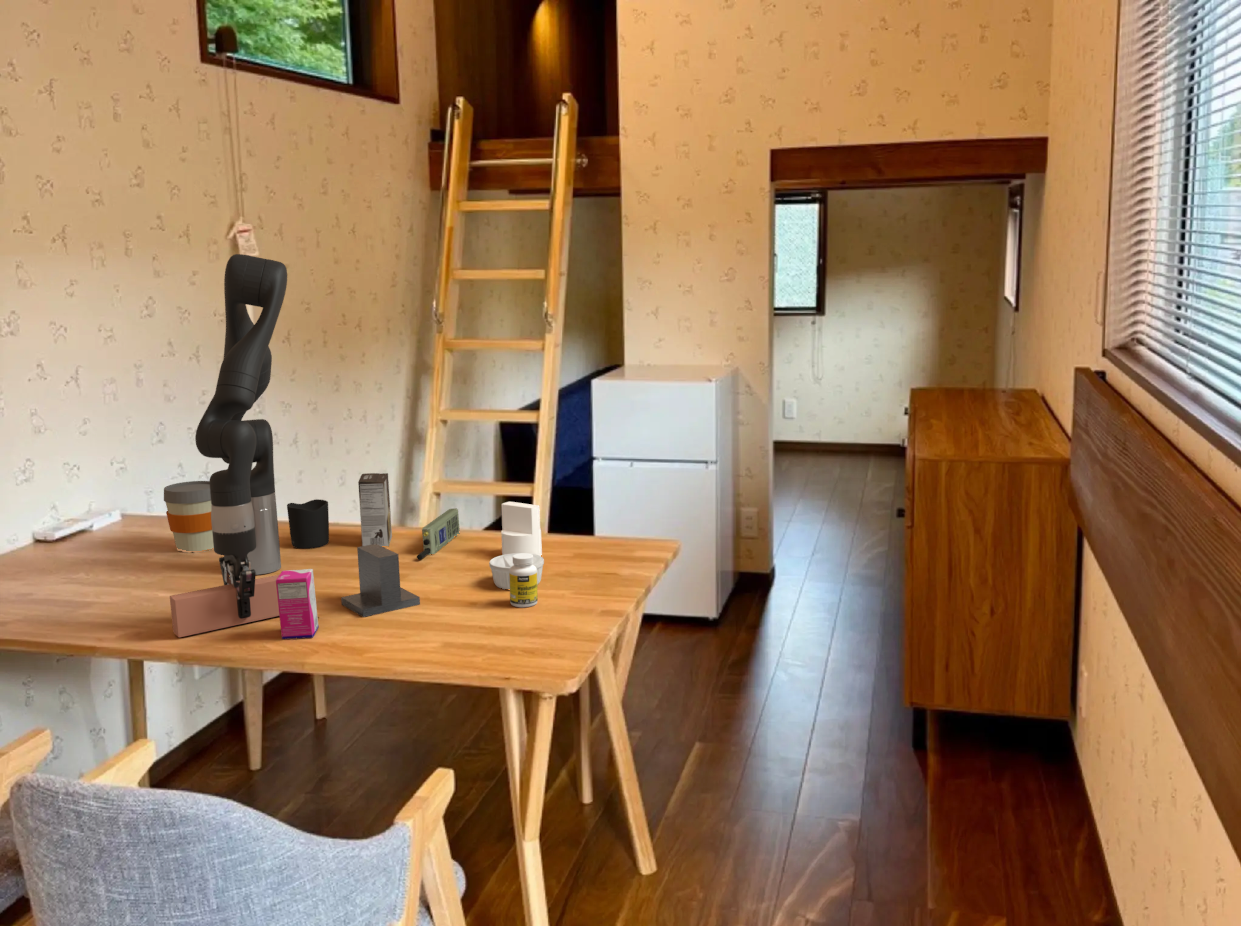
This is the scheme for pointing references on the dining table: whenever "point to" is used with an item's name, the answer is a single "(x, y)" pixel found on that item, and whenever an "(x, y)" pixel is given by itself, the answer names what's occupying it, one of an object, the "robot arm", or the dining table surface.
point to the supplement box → (297, 604)
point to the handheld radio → (439, 532)
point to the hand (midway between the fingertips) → (241, 614)
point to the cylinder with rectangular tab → (521, 528)
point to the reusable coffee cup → (190, 514)
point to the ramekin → (503, 565)
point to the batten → (221, 607)
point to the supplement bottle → (523, 581)
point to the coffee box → (375, 509)
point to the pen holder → (309, 524)
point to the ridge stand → (378, 583)
